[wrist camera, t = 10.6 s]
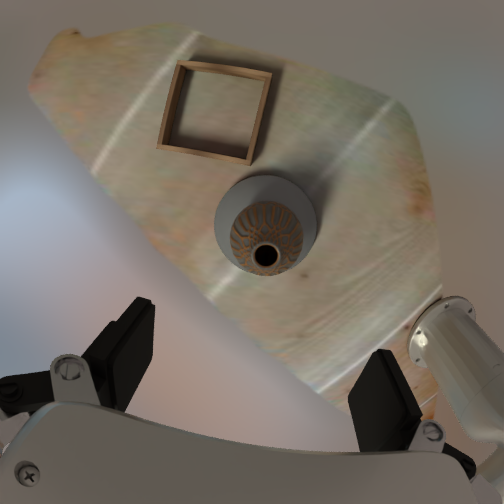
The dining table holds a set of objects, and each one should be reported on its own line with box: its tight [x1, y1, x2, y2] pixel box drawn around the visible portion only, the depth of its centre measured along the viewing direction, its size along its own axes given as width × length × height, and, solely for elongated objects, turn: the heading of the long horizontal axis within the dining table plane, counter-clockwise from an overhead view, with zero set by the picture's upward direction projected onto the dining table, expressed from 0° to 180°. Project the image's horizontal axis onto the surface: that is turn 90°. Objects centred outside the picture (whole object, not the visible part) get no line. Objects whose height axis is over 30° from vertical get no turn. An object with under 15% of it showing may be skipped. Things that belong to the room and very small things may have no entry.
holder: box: [156, 60, 272, 166], centre depth 27 cm, size 10×10×2 cm
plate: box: [214, 175, 317, 273], centre depth 31 cm, size 11×11×1 cm
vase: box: [230, 201, 304, 276], centre depth 27 cm, size 7×7×9 cm
